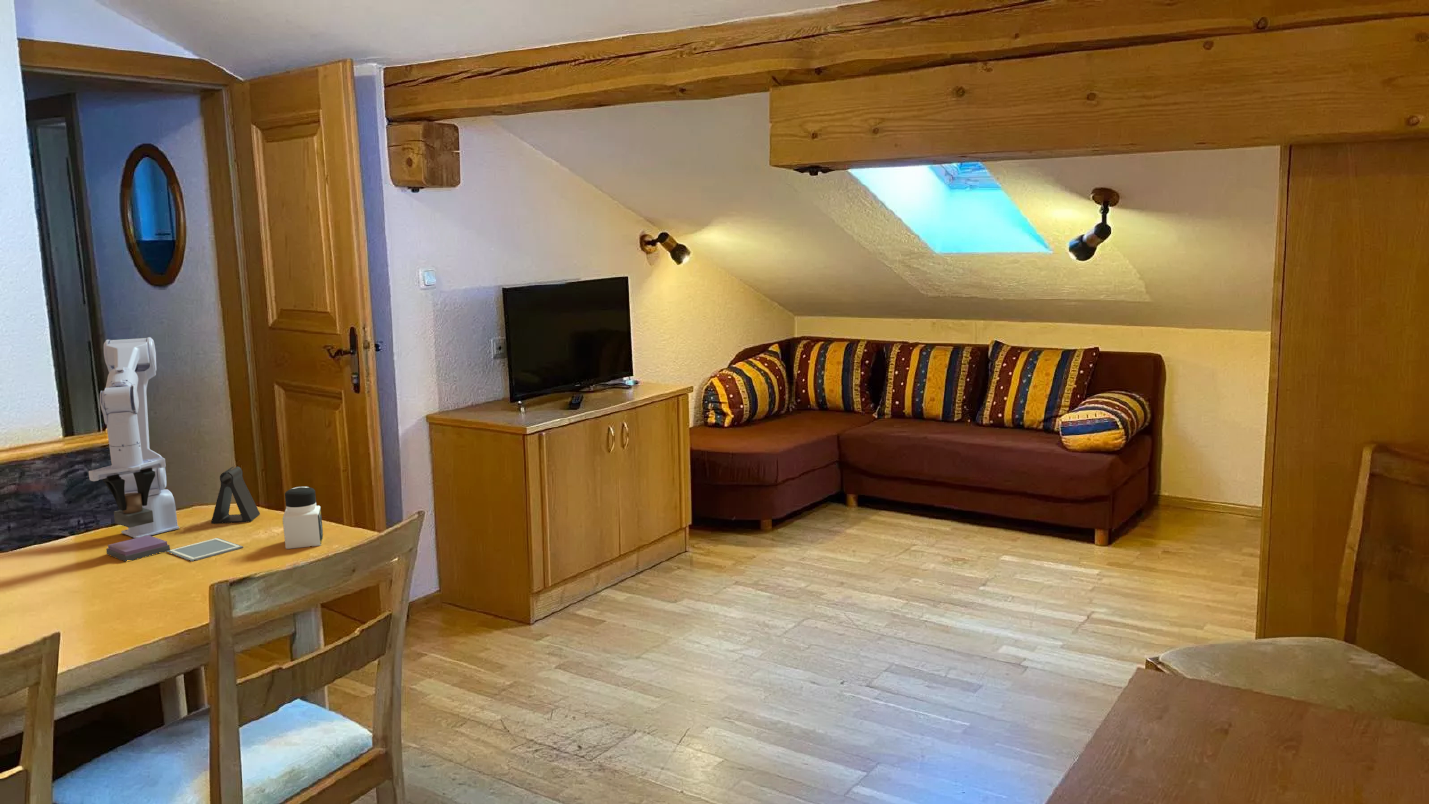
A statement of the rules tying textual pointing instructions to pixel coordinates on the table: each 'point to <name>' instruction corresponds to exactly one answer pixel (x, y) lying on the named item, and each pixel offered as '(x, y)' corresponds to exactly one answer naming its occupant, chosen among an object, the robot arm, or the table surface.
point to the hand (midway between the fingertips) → (132, 507)
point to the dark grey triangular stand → (243, 498)
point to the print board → (204, 549)
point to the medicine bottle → (302, 519)
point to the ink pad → (137, 548)
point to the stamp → (133, 512)
